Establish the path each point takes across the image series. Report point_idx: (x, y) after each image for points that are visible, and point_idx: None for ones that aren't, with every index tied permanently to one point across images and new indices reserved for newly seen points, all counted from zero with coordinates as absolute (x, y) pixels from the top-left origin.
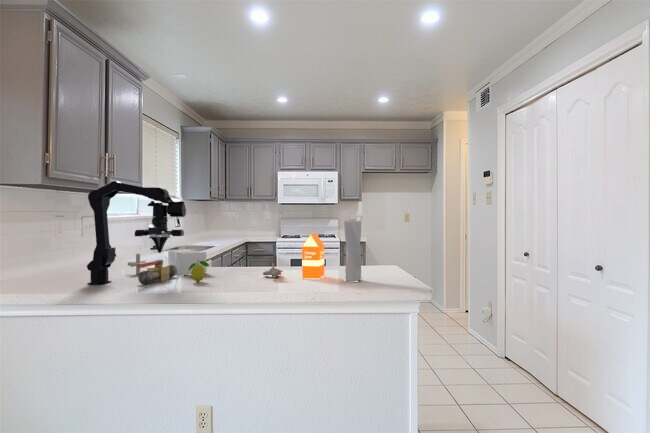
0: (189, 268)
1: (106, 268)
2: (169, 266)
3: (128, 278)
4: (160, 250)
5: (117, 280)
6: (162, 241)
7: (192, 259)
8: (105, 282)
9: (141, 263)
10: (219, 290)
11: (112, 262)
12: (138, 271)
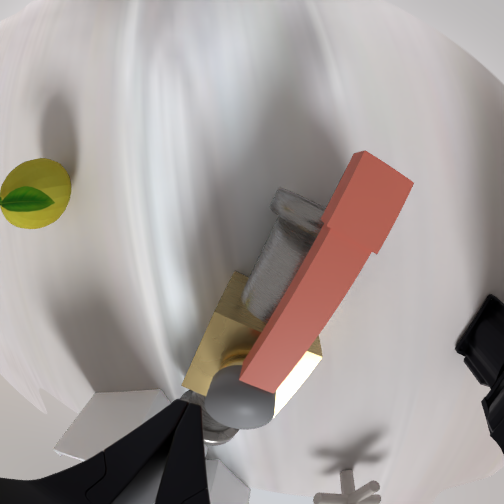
0: (42, 203)
1: (501, 369)
2: (204, 428)
3: (388, 413)
4: (163, 414)
5: (429, 381)
6: (60, 488)
7: (101, 438)
8: (477, 318)
9: (376, 184)
10: (40, 26)
11: (489, 408)
12: (346, 477)
